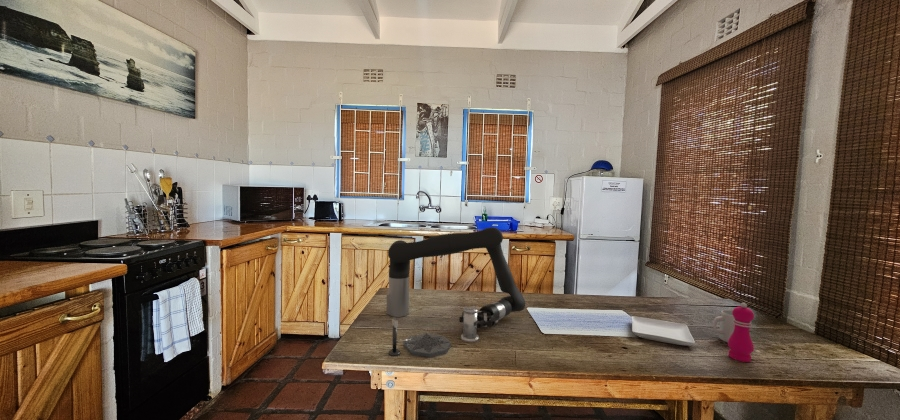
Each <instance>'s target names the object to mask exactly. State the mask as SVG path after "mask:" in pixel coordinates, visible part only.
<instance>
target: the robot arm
mask: <svg viewBox="0 0 900 420" xmlns="http://www.w3.org/2000/svg"><path fill="white" fill-rule="evenodd" d="M503 239H504V234H503V233H502V231H501V230H500V229H499V228H497V227H494V226H490V227H486V228H484V229H482V230H478V231H474V232H454V233H452V232H451V233H446V234H439V235H435V236H431V237H428V238H426V239H423V240H419V241H414V242H413V241H412V242H411V241H410V242H406V241H404V240H402V239H401V240H395V241H394V242H393V243H392V244H391V245H390V246H389V248H388V251H387V256H388V259H389V268H388V292H387V293H386V315H388V316H391V317H392V318H399V317H405V316H408V315H409V313H410V308H409V307H410V269H411V261H412V260H416V259H422V258H431V257H441V256H448V255H453V254H458V253H462V252H465V251H466V252H467V251H470V250H475V249H486V251H487V252H488V255H489V258H490V260H491V264H492V266H493V267H492V268H493V270H494V273H495V277H496V280H497V283H498V285H499V289H500V291H501V292H502V293H504V294H505V293H506V294H508V296H504V297H502V298H501V299H500V300H497V301H494V302H490V303H487V304H485V305H483V306H481V307H480V309H478V312H477V330H478V329H481V328H483V327H488V328H493V327H495V326H497V325H499V321H500V320H501V319H503V318H505V317H507V316H509V315H510V314H511V313H515V312H522V311H524V310H525V308H526V300H525V297H524V296H523V294H522V292H521V291H520V289H519V288H518V287H517V285H516V283H515V279H514V277H513V273H512V270H511V269H510V267H509V263H508V262H507V260H506V258H505V255H504V252H503V248H502V243H503ZM461 313H462V315H461V316H459V318H458V319H459V323H461V324H462V323H463V320H464V312H463V311H462V312H461Z"/></svg>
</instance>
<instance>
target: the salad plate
mask: <svg viewBox="0 0 900 420" xmlns="http://www.w3.org/2000/svg"><path fill="white" fill-rule="evenodd" d="M630 318H631V319H630V320H631V331H632V334H633V335H635V336H637V337H639V338H641V337H642V339H645V340H650V341H655V342H660V343H661V342H662V343H667V344H671V345H678V346H687V347H688V346H692V345H695V343H696V341H695V339H694V337H693V335H692V334H691V331H690V329H689V327H688V326H687V324H684V323H679V322H672V321H666V320H663V319H662V320H660V319H654V318H648V317H641V316H635V315H633V316H632V315H631V317H630Z"/></svg>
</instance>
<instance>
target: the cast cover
mask: <svg viewBox="0 0 900 420" xmlns="http://www.w3.org/2000/svg"><path fill="white" fill-rule="evenodd" d="M478 311H479V308H478V307H476V306H471V305H470V306H463V307H462V312H464V320H463V322H462V323H463V326H462V327H463V329H462V331H463V332H462V334H461V335H460V340H461V341H462V342H465V343H468V344H469V343H472V344H473V343H476V342H478V341H479V335H478V334H477V333H478V332H477V330H478V328H477V323H478V321H477V312H478Z"/></svg>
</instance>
